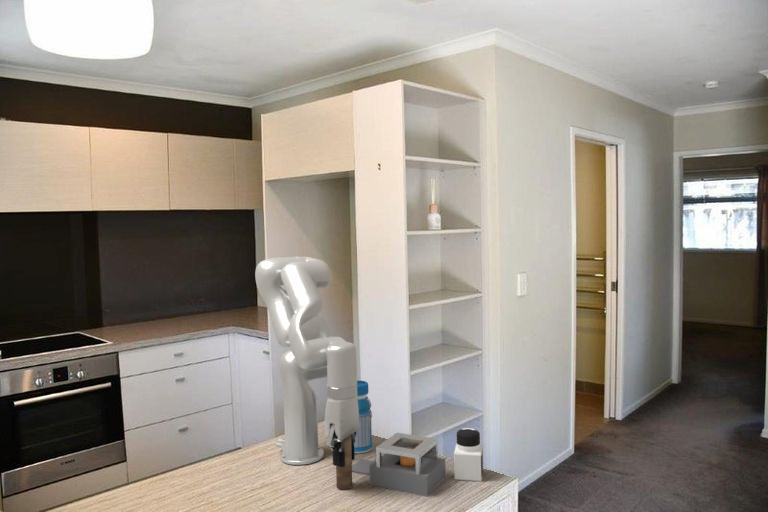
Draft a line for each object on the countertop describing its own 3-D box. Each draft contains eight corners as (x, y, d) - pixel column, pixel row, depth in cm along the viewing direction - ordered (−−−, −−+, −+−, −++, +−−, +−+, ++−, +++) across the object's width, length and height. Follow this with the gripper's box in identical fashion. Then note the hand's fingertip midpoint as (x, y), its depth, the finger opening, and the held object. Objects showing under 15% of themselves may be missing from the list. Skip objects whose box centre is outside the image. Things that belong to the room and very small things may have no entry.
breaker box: (370, 484, 151) (369, 465, 150) (391, 467, 161) (390, 449, 161) (427, 496, 143) (426, 476, 143) (445, 477, 154) (445, 458, 153)
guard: (376, 466, 149) (375, 447, 149) (397, 450, 160) (396, 432, 160) (419, 475, 144) (419, 454, 144) (438, 457, 154) (437, 438, 154)
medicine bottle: (482, 481, 151) (481, 435, 150) (454, 480, 152) (453, 434, 152) (483, 470, 158) (482, 426, 157) (456, 468, 159) (455, 425, 159)
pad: (346, 470, 160) (346, 469, 160) (361, 460, 167) (361, 458, 167) (372, 475, 156) (372, 474, 156) (386, 464, 163) (386, 463, 163)
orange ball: (395, 473, 151) (395, 452, 151) (403, 466, 155) (403, 446, 155) (412, 476, 149) (412, 455, 148) (420, 469, 153) (419, 449, 153)
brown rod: (333, 487, 149) (332, 425, 148) (341, 481, 152) (340, 420, 151) (347, 490, 147) (345, 428, 146) (355, 484, 150) (353, 423, 150)
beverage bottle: (359, 456, 169) (357, 388, 168) (338, 450, 175) (336, 383, 174) (378, 448, 176) (376, 382, 175) (357, 442, 181) (356, 378, 180)
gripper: (346, 381, 157) (348, 448, 158) (311, 398, 143) (313, 472, 144) (371, 384, 154) (372, 453, 155) (337, 402, 139) (339, 478, 140)
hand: (343, 461), depth 149 cm, fingers closed on brown rod, 4 cm apart
